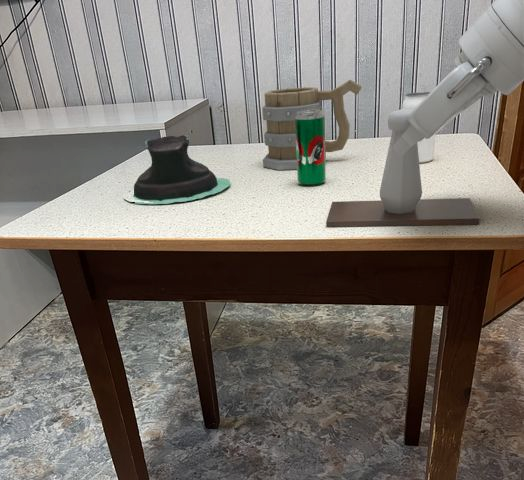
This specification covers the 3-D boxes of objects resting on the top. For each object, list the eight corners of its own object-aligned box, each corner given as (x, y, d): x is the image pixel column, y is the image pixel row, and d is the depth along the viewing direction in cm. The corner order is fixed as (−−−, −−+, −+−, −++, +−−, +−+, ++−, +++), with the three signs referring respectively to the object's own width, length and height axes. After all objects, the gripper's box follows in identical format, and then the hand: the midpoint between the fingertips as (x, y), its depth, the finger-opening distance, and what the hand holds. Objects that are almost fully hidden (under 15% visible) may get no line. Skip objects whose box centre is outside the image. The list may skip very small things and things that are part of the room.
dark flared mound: (113, 183, 106) (209, 170, 112) (137, 250, 97) (240, 232, 103) (105, 113, 93) (214, 103, 100) (132, 183, 85) (249, 167, 91)
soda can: (329, 180, 98) (328, 108, 92) (320, 187, 94) (318, 112, 88) (303, 179, 100) (300, 109, 94) (293, 186, 96) (289, 113, 90)
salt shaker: (370, 210, 76) (372, 112, 70) (395, 201, 79) (400, 106, 73) (404, 218, 72) (409, 113, 66) (429, 208, 75) (437, 107, 69)
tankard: (260, 171, 109) (253, 89, 101) (270, 158, 120) (265, 84, 112) (359, 166, 105) (360, 81, 97) (361, 154, 116) (362, 76, 108)
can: (404, 156, 110) (407, 92, 104) (436, 157, 107) (441, 91, 101) (396, 163, 105) (399, 96, 99) (430, 164, 102) (435, 95, 96)
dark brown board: (469, 203, 79) (469, 197, 78) (479, 224, 70) (480, 218, 70) (332, 206, 83) (332, 201, 82) (326, 227, 74) (326, 221, 74)
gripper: (502, 86, 55) (402, 180, 64) (521, 68, 70) (439, 146, 79) (461, 39, 55) (366, 141, 64) (489, 31, 70) (410, 114, 79)
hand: (407, 143), depth 72 cm, fingers open, 8 cm apart
